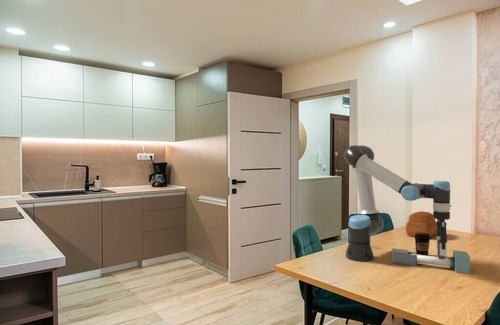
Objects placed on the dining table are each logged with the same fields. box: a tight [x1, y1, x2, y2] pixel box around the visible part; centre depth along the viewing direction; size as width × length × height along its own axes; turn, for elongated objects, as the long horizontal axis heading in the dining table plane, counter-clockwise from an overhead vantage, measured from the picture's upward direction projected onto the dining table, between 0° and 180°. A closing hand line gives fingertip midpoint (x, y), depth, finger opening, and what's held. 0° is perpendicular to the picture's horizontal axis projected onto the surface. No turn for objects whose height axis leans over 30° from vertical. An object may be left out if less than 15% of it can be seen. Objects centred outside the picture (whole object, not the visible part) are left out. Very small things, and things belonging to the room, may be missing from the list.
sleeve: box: [391, 248, 418, 267], centre depth 174 cm, size 12×6×7 cm, turn 66°
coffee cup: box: [414, 232, 432, 256], centre depth 187 cm, size 9×8×13 cm
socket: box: [452, 250, 471, 275], centre depth 163 cm, size 6×9×8 cm, turn 156°
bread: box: [405, 210, 437, 238], centre depth 235 cm, size 18×22×17 cm
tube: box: [411, 239, 455, 269], centre depth 167 cm, size 25×6×14 cm, turn 66°
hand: (441, 251), depth 166 cm, fingers open, 13 cm apart
